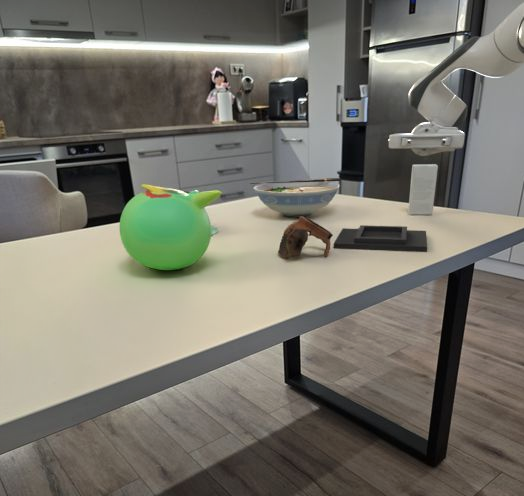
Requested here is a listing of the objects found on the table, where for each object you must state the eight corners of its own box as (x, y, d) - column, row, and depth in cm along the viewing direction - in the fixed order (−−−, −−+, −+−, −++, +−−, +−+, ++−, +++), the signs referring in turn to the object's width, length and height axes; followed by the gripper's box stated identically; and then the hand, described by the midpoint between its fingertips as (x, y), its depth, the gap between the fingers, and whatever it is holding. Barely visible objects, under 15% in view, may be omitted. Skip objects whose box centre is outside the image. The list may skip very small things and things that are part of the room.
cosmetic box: (431, 212, 127) (437, 163, 122) (432, 215, 124) (438, 165, 118) (407, 211, 129) (412, 164, 123) (408, 214, 125) (412, 165, 119)
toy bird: (118, 261, 93) (105, 181, 86) (201, 250, 99) (195, 174, 92) (136, 288, 78) (122, 194, 72) (233, 272, 84) (228, 185, 78)
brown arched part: (281, 250, 98) (301, 213, 96) (320, 274, 97) (341, 237, 94) (263, 249, 87) (285, 208, 85) (306, 276, 86) (330, 235, 83)
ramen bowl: (250, 224, 120) (248, 190, 116) (251, 208, 140) (250, 179, 137) (349, 221, 120) (351, 187, 116) (336, 205, 140) (337, 176, 137)
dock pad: (425, 235, 104) (426, 226, 103) (426, 251, 92) (428, 241, 91) (342, 232, 109) (342, 223, 108) (333, 248, 97) (333, 238, 96)
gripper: (390, 128, 143) (387, 130, 131) (463, 126, 138) (467, 128, 126) (388, 151, 146) (385, 155, 134) (459, 150, 140) (463, 154, 129)
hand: (426, 142), depth 130 cm, fingers open, 8 cm apart
